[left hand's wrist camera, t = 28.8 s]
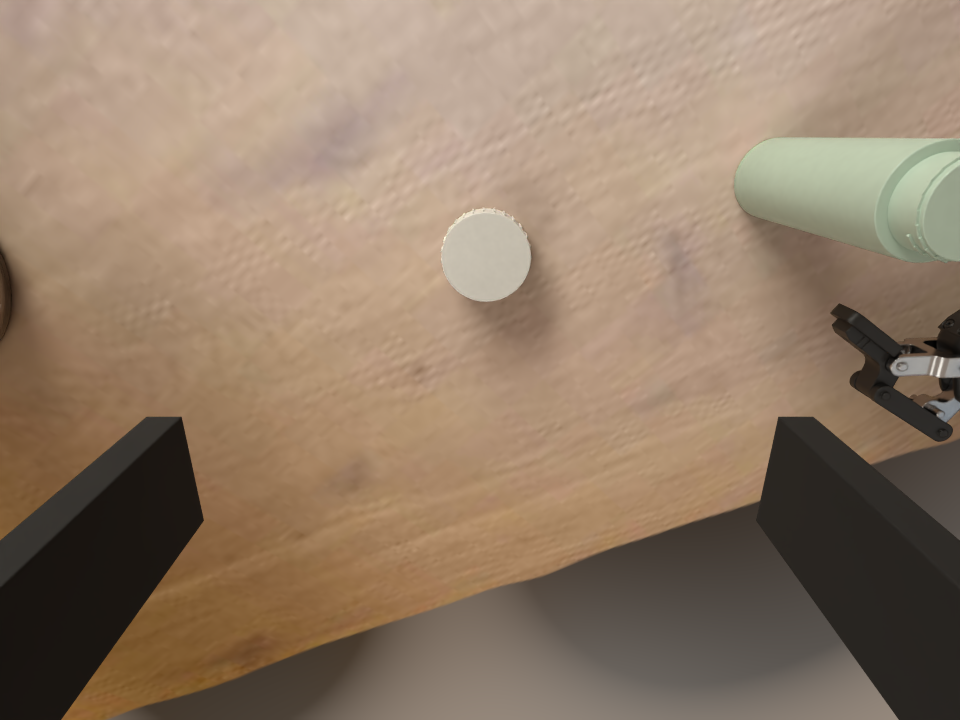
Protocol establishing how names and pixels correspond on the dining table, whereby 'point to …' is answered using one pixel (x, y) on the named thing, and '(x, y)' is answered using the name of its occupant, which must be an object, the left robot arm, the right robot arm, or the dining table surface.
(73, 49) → the dining table surface
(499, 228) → the lid
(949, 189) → the jar
